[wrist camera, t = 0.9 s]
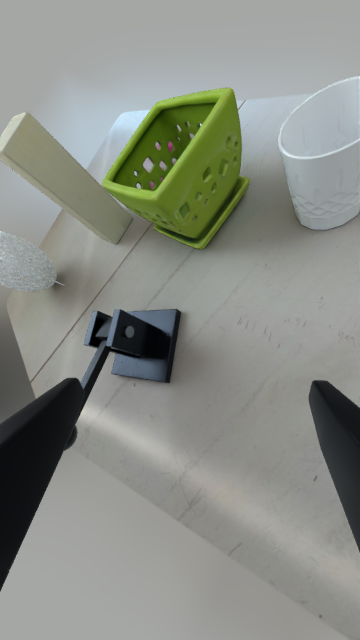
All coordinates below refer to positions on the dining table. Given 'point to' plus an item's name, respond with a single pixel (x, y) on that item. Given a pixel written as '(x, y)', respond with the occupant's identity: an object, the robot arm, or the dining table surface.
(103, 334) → the lever with ball knob
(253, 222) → the dining table surface
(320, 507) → the dining table surface
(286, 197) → the dining table surface
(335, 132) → the white cup
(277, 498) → the dining table surface
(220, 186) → the flower pot
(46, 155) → the toy refrigerator
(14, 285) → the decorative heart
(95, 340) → the lever base
